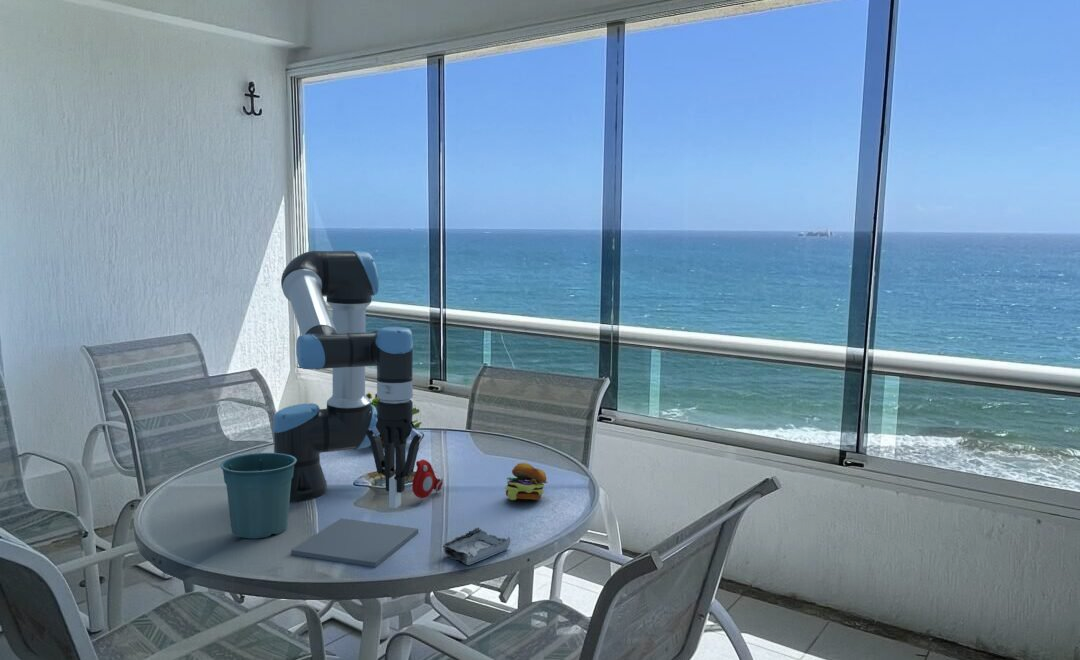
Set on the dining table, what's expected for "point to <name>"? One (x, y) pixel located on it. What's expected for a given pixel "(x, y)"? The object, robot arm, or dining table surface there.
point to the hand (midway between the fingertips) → (395, 505)
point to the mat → (356, 542)
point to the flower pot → (258, 493)
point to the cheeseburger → (526, 482)
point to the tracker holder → (425, 480)
